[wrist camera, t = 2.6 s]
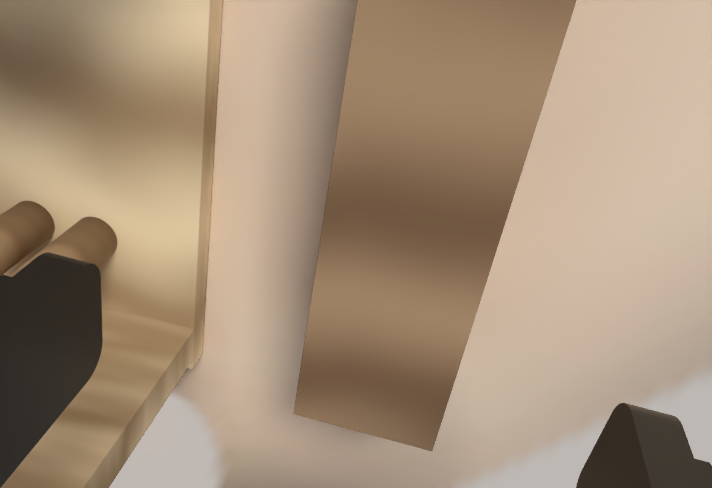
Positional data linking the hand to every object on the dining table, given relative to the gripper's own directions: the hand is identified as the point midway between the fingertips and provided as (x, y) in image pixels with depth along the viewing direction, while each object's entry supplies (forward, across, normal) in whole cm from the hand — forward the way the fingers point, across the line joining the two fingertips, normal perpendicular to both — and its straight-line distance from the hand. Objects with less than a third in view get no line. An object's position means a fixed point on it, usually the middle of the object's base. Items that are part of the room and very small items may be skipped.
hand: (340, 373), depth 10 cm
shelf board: (+12, -1, 0) cm, 12 cm away
